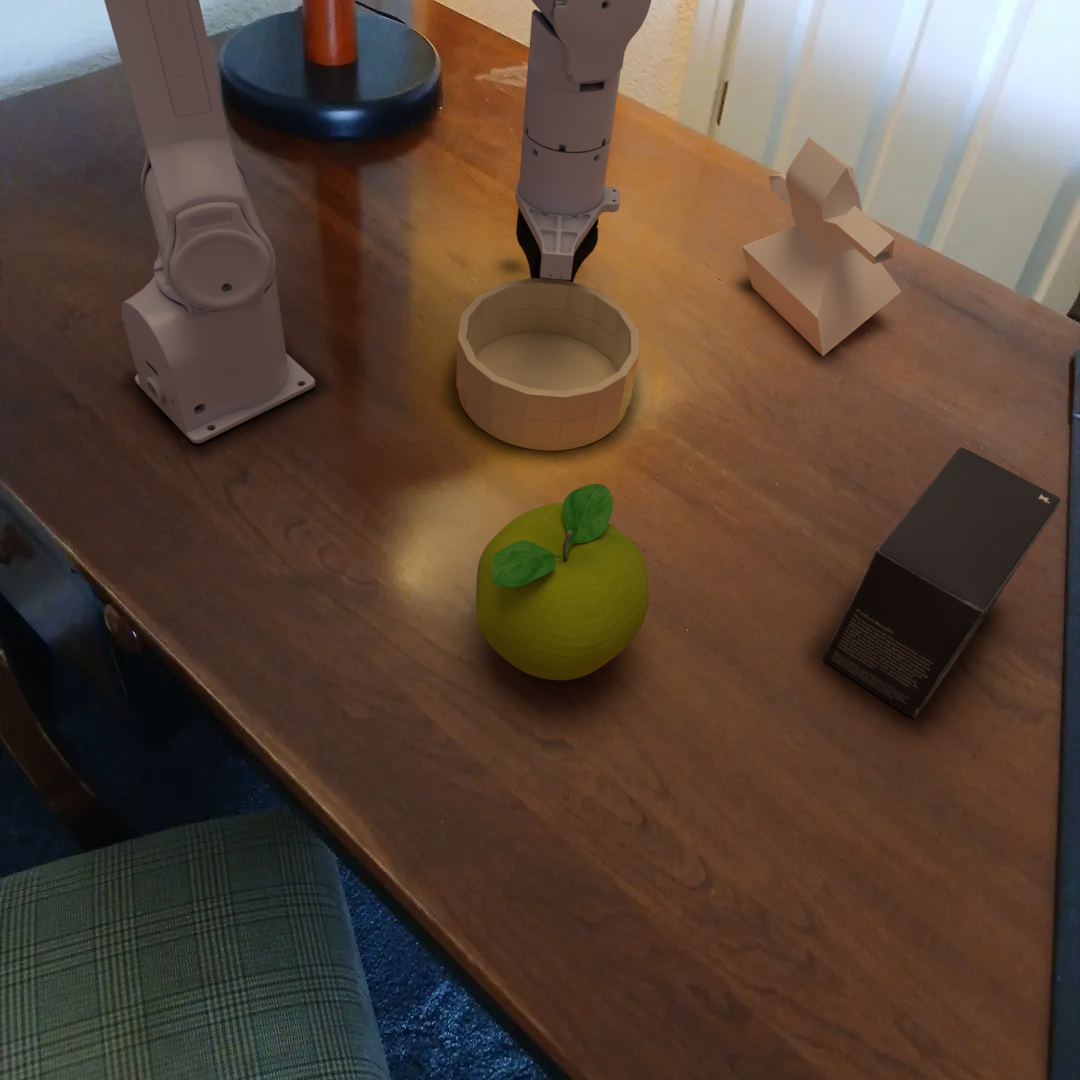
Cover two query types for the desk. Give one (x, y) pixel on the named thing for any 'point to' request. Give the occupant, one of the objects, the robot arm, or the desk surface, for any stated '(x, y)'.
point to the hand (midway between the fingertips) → (549, 301)
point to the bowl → (546, 363)
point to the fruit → (562, 588)
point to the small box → (937, 579)
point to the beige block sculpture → (822, 252)
